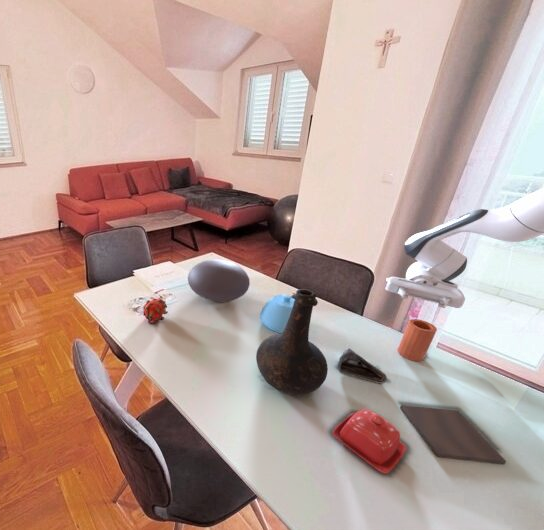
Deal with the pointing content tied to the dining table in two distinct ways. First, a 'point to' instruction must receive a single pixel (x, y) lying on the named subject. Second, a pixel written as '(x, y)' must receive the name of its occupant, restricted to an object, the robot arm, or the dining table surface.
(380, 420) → the butter dish
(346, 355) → the chocolate cake
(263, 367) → the glass bottle
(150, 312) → the dragon fruit
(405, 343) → the pot
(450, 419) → the plate
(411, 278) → the robot arm
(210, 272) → the smooth stone
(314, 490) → the dining table surface
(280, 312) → the sugar bowl
